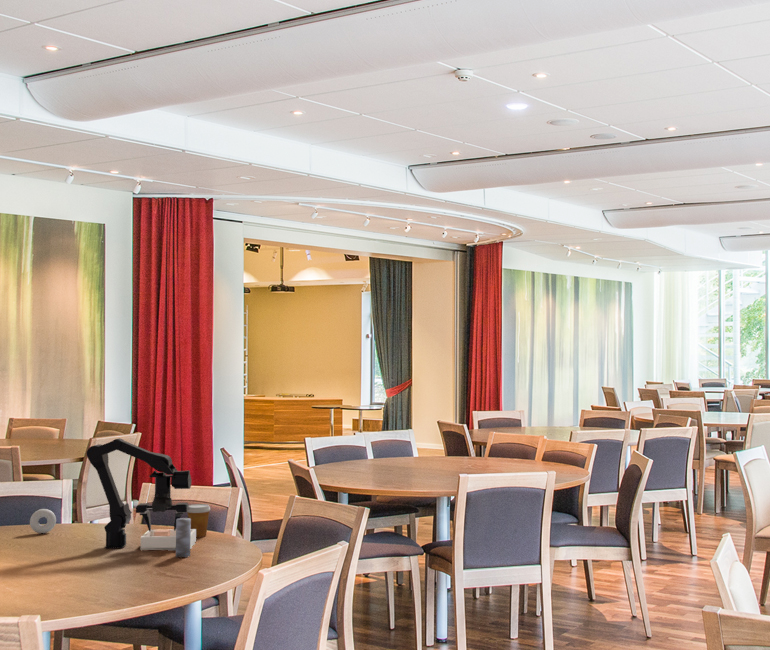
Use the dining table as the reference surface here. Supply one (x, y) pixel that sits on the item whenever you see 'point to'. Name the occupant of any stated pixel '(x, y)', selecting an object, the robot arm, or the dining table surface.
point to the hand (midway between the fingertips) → (162, 530)
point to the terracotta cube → (162, 532)
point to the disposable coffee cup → (199, 518)
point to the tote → (163, 540)
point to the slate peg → (183, 537)
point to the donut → (48, 526)
